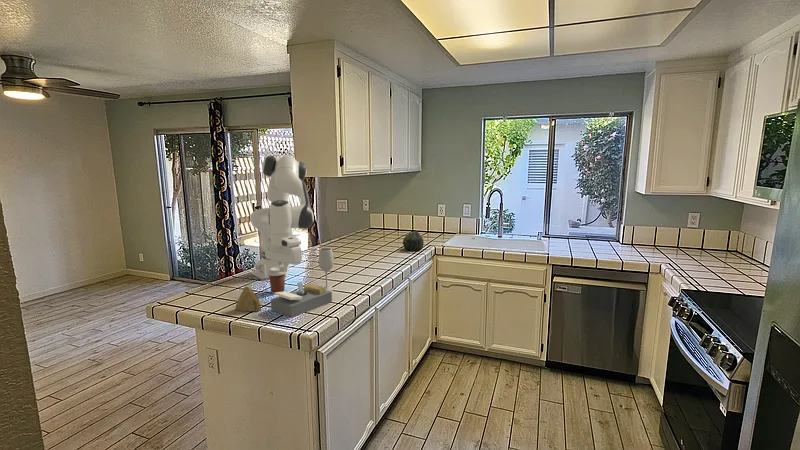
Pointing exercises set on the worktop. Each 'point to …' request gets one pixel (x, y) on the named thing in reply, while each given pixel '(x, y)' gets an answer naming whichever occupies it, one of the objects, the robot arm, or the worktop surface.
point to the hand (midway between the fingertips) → (283, 271)
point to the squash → (413, 241)
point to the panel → (300, 303)
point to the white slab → (288, 295)
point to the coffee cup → (277, 280)
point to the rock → (248, 301)
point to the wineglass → (326, 263)
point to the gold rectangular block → (314, 288)
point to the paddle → (300, 288)
